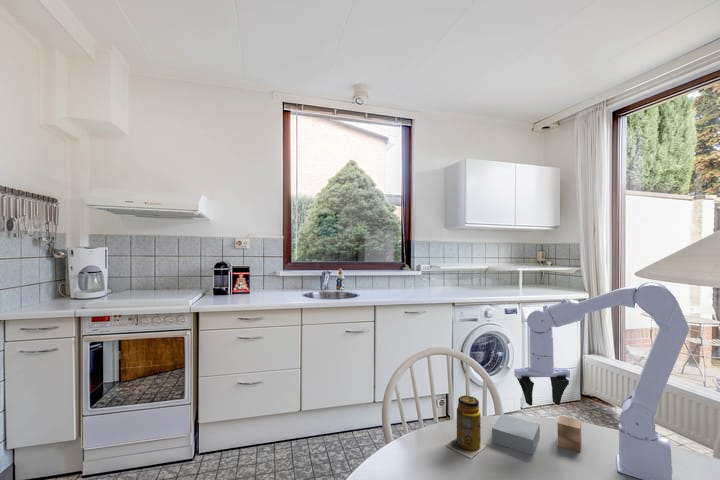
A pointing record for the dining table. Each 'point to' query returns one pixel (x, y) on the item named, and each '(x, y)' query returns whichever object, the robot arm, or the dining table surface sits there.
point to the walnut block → (569, 433)
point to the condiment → (468, 427)
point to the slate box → (516, 433)
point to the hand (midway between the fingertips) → (542, 403)
